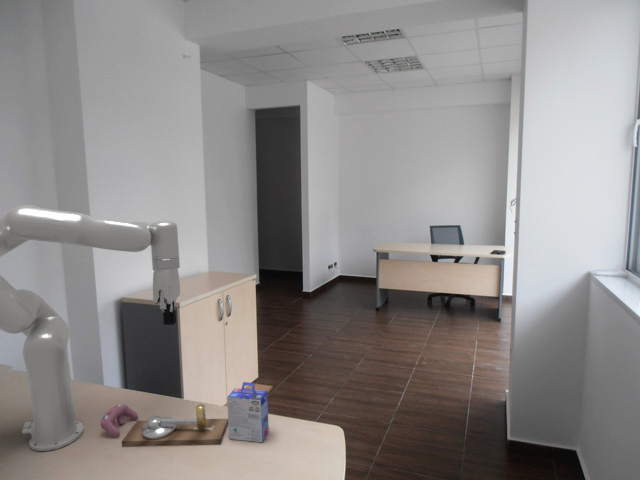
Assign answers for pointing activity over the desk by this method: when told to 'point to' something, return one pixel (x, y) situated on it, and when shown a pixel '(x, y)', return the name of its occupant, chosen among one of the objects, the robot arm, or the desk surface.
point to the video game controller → (119, 413)
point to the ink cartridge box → (248, 414)
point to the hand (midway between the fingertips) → (170, 323)
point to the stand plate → (180, 435)
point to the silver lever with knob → (172, 424)
